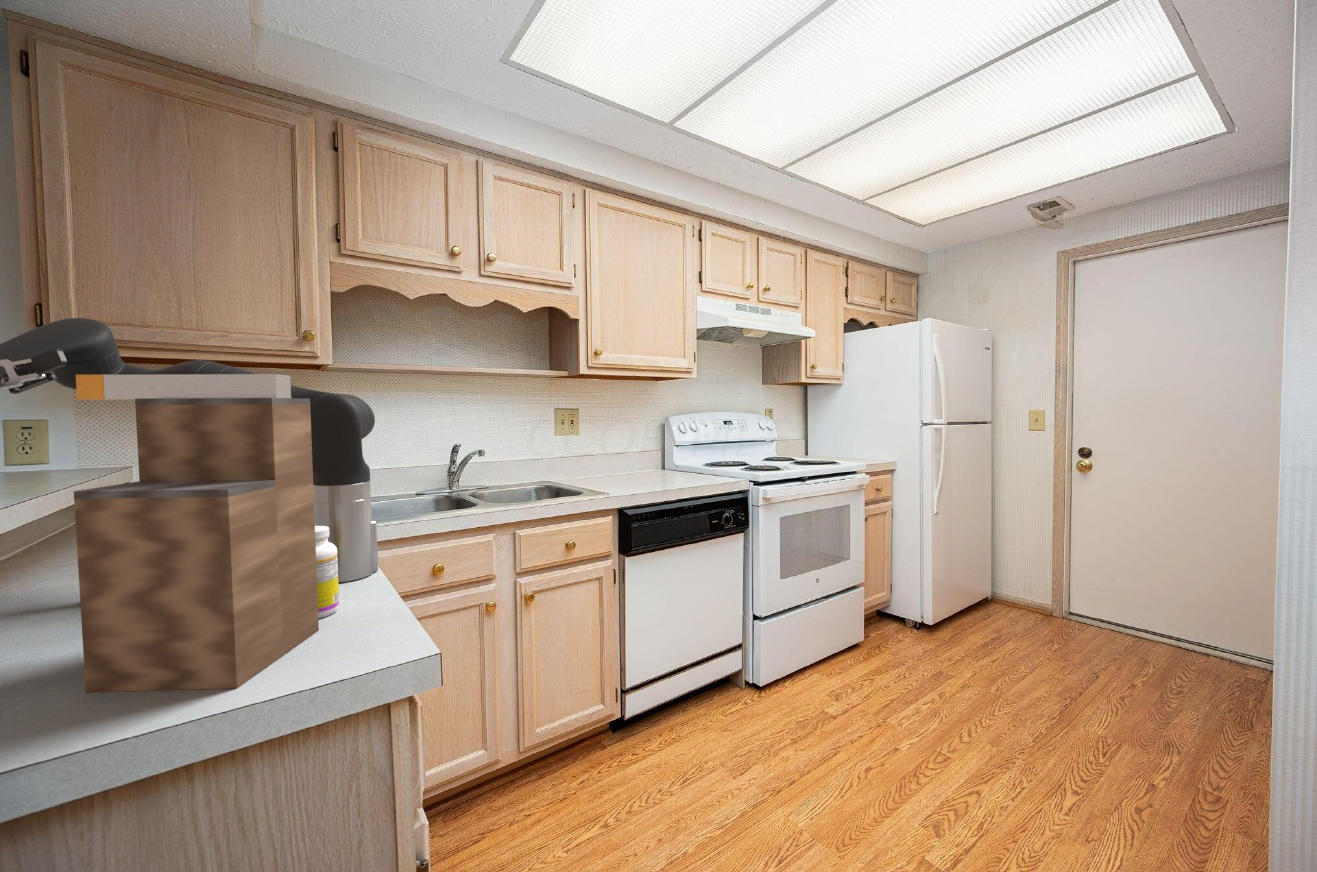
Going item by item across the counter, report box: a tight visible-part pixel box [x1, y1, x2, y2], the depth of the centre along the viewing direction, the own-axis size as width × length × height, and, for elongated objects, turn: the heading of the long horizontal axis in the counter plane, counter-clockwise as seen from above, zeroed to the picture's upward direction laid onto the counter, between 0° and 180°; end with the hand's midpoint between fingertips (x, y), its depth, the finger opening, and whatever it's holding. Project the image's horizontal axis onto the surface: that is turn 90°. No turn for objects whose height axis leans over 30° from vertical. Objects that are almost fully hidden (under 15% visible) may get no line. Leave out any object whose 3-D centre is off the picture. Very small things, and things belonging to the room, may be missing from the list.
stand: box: [73, 398, 320, 693], centre depth 69 cm, size 16×16×32 cm
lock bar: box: [75, 373, 292, 401], centre depth 72 cm, size 24×3×3 cm, turn 92°
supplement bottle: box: [315, 526, 340, 620], centre depth 84 cm, size 7×7×13 cm
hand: (24, 354), depth 68 cm, fingers open, 8 cm apart
